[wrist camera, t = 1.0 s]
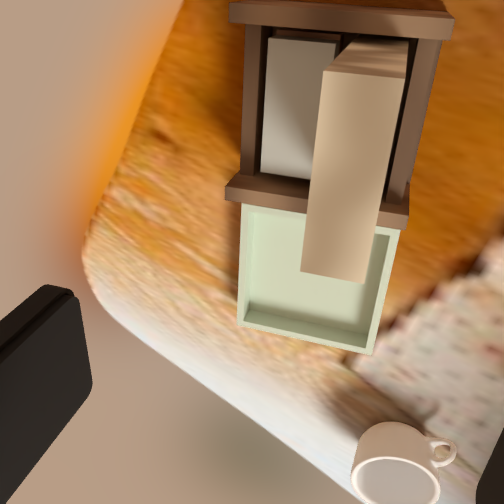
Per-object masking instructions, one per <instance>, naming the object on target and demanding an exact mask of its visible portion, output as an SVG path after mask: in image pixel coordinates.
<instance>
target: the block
mask: <svg viewBox="0 0 504 504" xmlns="http://www.w3.org/2000/svg"><path fill="white" fill-rule="evenodd" d="M408 43H409V37H399V36H387V35H375V34H363V33H360V34H359V35H358V36H357V37H356V38H355V39H354V40H353V41H352V42H351V43H350V44H349V45H348V46H347V47H346V48H345V49H344V50H343V51H342V52H341V53H340V54H339V55H338V56H337V57H336V59H335V60H334V61H333V62H332V63H331V64H330V65H329V66H328V67H327V68H326V69H325V70H324V71H323V79H322V88H321V96H320V105H319V113H318V122H317V130H316V139H315V147H314V156H313V164H312V173H311V181H310V190H309V198H308V207H307V215H306V224H305V233H304V241H303V250H302V258H301V267H300V272H305V273H310V274H315V275H320V276H325V277H331V278H336V279H341V280H346V281H351V282H356V283H361V284H364V283H365V278H366V273H367V268H368V263H369V258H370V253H371V248H372V243H373V238H374V233H375V228H376V223H377V218H378V213H379V208H380V203H381V198H382V193H383V188H384V183H385V178H386V173H387V168H388V163H389V158H390V153H391V148H392V143H393V138H394V133H395V128H396V123H397V118H398V113H399V108H400V103H401V98H402V93H403V88H404V83H405V76H406V65H407V54H408Z"/></svg>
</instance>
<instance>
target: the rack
mask: <svg viewBox="0 0 504 504" xmlns="http://www.w3.org/2000/svg"><path fill="white" fill-rule="evenodd" d="M229 22H230V23H242V24H246V26H245V53H244V79H243V105H242V131H241V158H240V170H239V172H238V173H237V174H236V175H235V176H234V177H233V178H232V179H231V180H230V181H229V183H228V184H227V185H226V186H225V200H228V201H234V202H240V203H246V204H252V205H258V206H264V207H270V208H276V209H282V210H288V211H294V212H300V213H306V214H307V207H308V198H309V190H310V181H311V180H310V179H304V178H297V177H291V176H284V175H278V174H271V173H264V172H260V170H261V153H262V137H263V120H264V103H265V87H266V70H267V54H268V38H270V37H272V36H275V35H277V29H279V28H282V27H290V28H302V29H315V30H327V31H339V32H345V34H344V41H343V49H342V51H343V50H344V49H345V48H346V47H347V46H348V45H349V44H350V43H351V42H352V41H353V40H354V39H355V38H356V37H357V36H358V35H359V34H360V33H363V34H375V35H387V36H399V37H409V43H408V54H407V65H406V76H405V83H404V88H403V93H402V98H401V103H400V108H399V113H398V118H397V123H396V128H395V133H394V138H393V143H392V148H391V153H390V158H389V163H388V168H387V173H386V178H385V183H384V188H383V193H382V198H381V203H380V208H379V213H378V218H377V223H376V225H377V226H383V227H389V228H395V229H401V230H406V226H407V222H408V217H409V188H410V180H411V176H412V171H413V167H414V163H415V158H416V154H417V150H418V145H419V141H420V136H421V132H422V128H423V123H424V119H425V115H426V110H427V106H428V102H429V97H430V93H431V88H432V84H433V80H434V75H435V71H436V67H437V62H438V58H439V53H440V49H441V45H442V40H448V41H450V40H451V35H452V31H453V27H454V23H455V18H454V17H453V16H452V15H451V14H450V13H449V12H445V11H431V10H416V9H402V8H388V7H373V6H359V5H345V4H331V3H316V2H302V1H288V0H246V1H238V2H230V3H229Z"/></svg>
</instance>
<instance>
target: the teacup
mask: <svg viewBox="0 0 504 504" xmlns="http://www.w3.org/2000/svg"><path fill="white" fill-rule="evenodd" d="M439 445H449V446H450V453H449V454H448V456H446V457H445V458H438V457H437V456H436V455H435V452H434V449H435V447H436V446H439ZM456 451H457V450H456V446H455V445H454V443H453V442H452V441H450V440H448V439H444V438H434V437H426V436H424V435H423V434H422V433H420V432H419V431H418V430H416V429H415V428H413V427H411V426H409V425H407V424H404V423H400V422H382V423H378V424H376V425H374V426H372V427H370V428H369V429H368V430H366V431H365V432H364V434H363V435H362V436H361V438H360V440H359V442H358V446H357V450H356V454H355V458H354V462H353V466H352V470H351V485H352V487H353V489H354V491H355V492H356V494H357V495H358V496H359V497H360V498H361V499H362V500H364V501H365V502H367V503H368V504H435V503H436V502H437V500H438V498H439V496H440V479H439V471H438V467H441V466H445V465H448V464H449V463H451V462H452V461H453V460H454V458H455V456H456Z"/></svg>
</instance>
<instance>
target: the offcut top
mask: <svg viewBox="0 0 504 504" xmlns="http://www.w3.org/2000/svg"><path fill="white" fill-rule="evenodd" d="M339 45H340V40H332V39H320V38H309V37H297V36H286V35H275V36H272V37H270V38H268V54H267V70H266V87H265V103H264V120H263V137H262V153H261V170H260V172H264V173H271V174H278V175H284V176H291V177H297V178H304V179H310V180H311V173H312V164H313V156H314V147H315V139H316V130H317V122H318V113H319V105H320V96H321V88H322V79H323V71H324V70H325V69H326V68H327V67H328V66H329V65H330V64H331V63H332V62H333V61H334V60H335V59H336V57H337V56H338V53H339Z"/></svg>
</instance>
